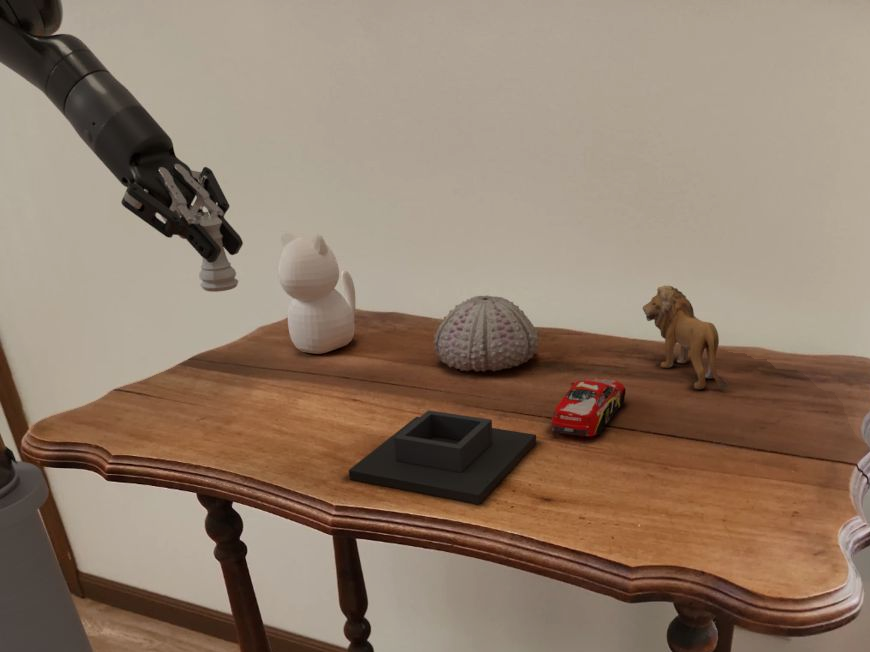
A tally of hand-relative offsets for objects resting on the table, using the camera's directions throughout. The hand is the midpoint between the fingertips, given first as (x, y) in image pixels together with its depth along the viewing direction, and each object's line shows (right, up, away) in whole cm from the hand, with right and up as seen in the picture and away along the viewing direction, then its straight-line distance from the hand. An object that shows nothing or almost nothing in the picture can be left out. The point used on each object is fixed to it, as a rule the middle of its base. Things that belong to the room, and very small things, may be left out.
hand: (227, 252), depth 93 cm
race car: (+41, -20, -5) cm, 46 cm away
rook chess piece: (-2, -3, +3) cm, 5 cm away
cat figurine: (+9, -4, +20) cm, 22 cm away
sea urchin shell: (+31, -9, +12) cm, 34 cm away
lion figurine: (+54, -13, +5) cm, 55 cm away
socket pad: (+25, -26, -12) cm, 38 cm away
